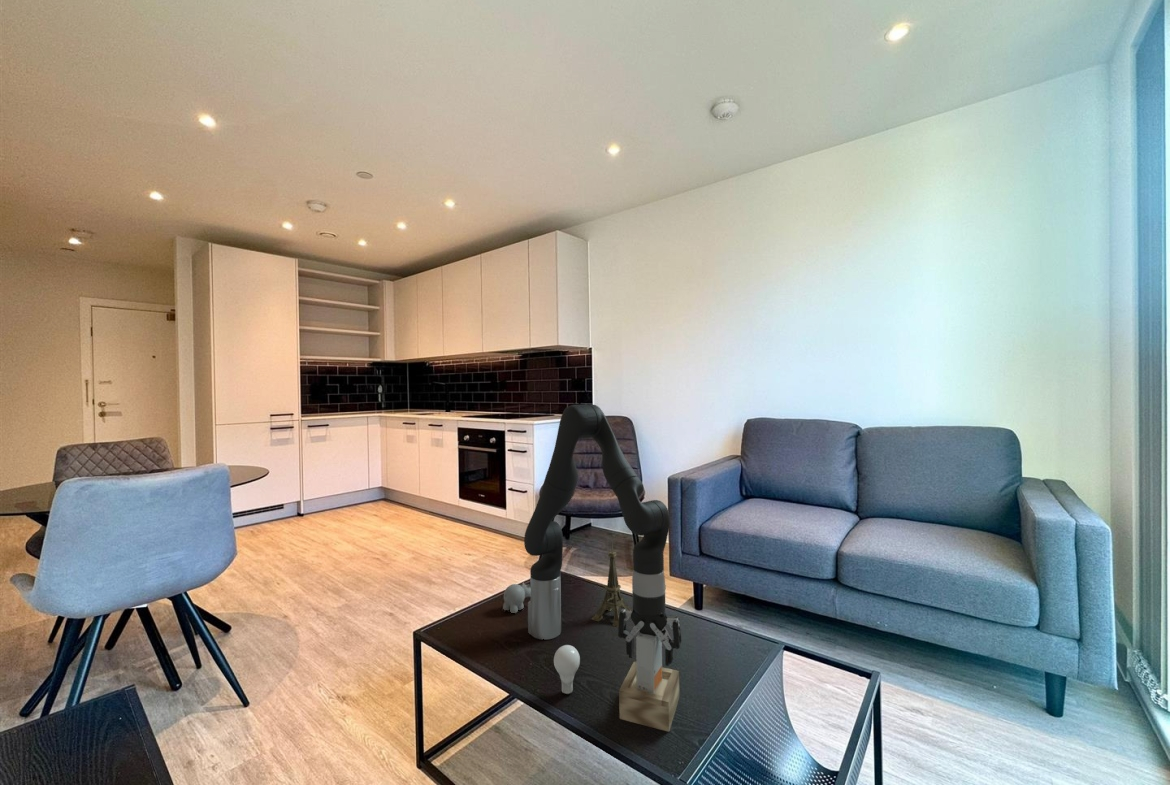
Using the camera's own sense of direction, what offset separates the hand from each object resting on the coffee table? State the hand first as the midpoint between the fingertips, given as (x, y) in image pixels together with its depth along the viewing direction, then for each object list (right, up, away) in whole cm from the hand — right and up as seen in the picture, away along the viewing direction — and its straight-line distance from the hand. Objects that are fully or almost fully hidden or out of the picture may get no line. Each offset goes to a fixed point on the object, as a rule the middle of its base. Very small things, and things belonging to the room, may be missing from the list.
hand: (649, 660), depth 103 cm
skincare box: (0, -6, 0) cm, 6 cm away
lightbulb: (-19, -11, +5) cm, 23 cm away
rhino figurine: (-37, -13, +51) cm, 65 cm away
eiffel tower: (-6, -12, +44) cm, 46 cm away
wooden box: (0, -11, 0) cm, 11 cm away
